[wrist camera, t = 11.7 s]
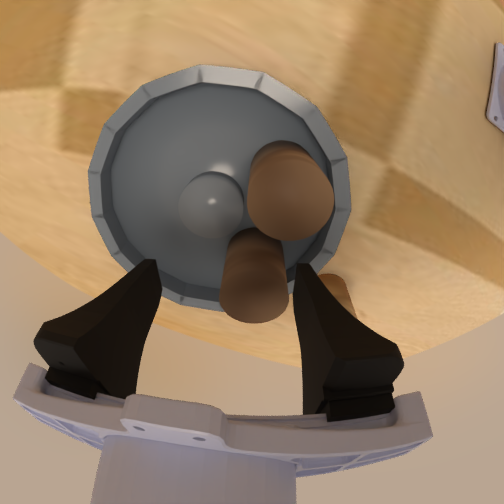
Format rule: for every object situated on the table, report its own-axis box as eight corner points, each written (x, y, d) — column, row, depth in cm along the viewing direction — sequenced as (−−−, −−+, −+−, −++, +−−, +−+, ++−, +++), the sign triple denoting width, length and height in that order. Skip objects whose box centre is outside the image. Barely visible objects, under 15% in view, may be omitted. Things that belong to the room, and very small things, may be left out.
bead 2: (307, 134, 15) (326, 152, 11) (319, 193, 17) (338, 231, 13) (242, 149, 16) (235, 172, 11) (259, 206, 18) (259, 248, 14)
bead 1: (294, 244, 19) (303, 292, 15) (263, 281, 21) (263, 331, 17) (245, 217, 18) (241, 260, 14) (217, 258, 20) (207, 307, 16)
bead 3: (352, 276, 22) (369, 320, 18) (336, 310, 24) (347, 353, 20) (308, 270, 22) (318, 316, 17) (295, 305, 24) (301, 351, 20)
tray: (368, 103, 14) (382, 105, 12) (302, 302, 23) (305, 322, 22) (109, 68, 13) (91, 68, 11) (114, 272, 22) (104, 289, 20)
